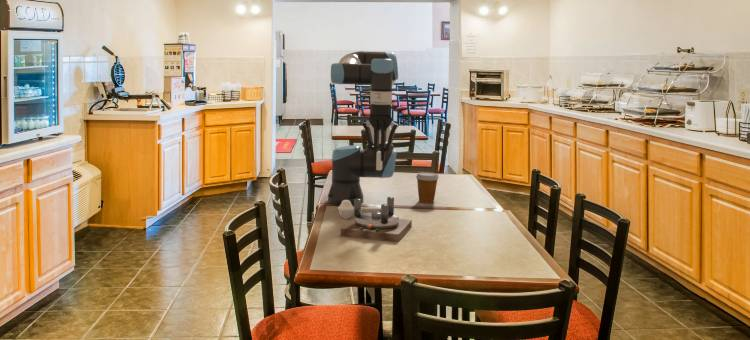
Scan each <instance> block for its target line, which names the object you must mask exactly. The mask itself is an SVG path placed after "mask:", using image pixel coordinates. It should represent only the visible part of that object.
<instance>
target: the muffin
mask: <svg viewBox="0 0 750 340" xmlns="http://www.w3.org/2000/svg"><path fill="white" fill-rule="evenodd" d="M337 210H338V213H339V215H340V217H341V218H342V219H344V220H345V219H347V220H348V219H351V217H352V215H354V205H352V204H351V202H350V201H349V200H343V201H342V203H341V205H339V206H338V207H337Z"/></svg>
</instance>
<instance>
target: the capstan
mask: <svg viewBox="0 0 750 340" xmlns="http://www.w3.org/2000/svg"><path fill="white" fill-rule="evenodd" d="M353 207H354V211H353V217H354V218H355V217H356V220H355V223H356V225H358V226H360V227H364V228H370V229H377V228H379V229H388V228H394V227H397V226H398V225H399V219H400V216H398V215H396V214H395V197H394V196H388V197H387V199H386V204H385V203H383V204H380V211H372V212H365V213H364V212H363V213H362V203H361V199H354V205H353Z"/></svg>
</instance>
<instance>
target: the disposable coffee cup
mask: <svg viewBox="0 0 750 340" xmlns="http://www.w3.org/2000/svg"><path fill="white" fill-rule="evenodd" d="M415 178H416V180H417V181H416V183H417V190H418V191H417V192H418V202H420V203H422V204H423V203H424V204H431V203H434V202H435V198H436V190H437V184H438V180H439V175H438V173H436V172H430V171H421V172H417V173H416V176H415Z"/></svg>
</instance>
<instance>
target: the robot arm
mask: <svg viewBox="0 0 750 340" xmlns="http://www.w3.org/2000/svg"><path fill="white" fill-rule="evenodd" d="M397 80H399V67H398V59H397V56H396V54H395V53H394V52H390V51H389V52H388V51H361V50H360V51H354V52H350V53H347V54H346V55H344V56H342V57H341V58H340V59H339V62H333V63H332V64H331V65H330V82H331V83H332V84H333V85H364V86H365V85H366V86H369V87H370V95H369V96H370V98H369V99H370V105H369V117H368V120H366V121H365V122H363V123H362V126H363V129H364V131H365V136H366V140H367V144H366V145H365V149H361V145H359V144H358V145H343V146H339V147H336V148H334V149H333V150H332V155H331V161H332V163H331V185H330V187H329V191H328V192H327V193H328V194H327V203H329V204H332V205H339V206H340V205H341V203H342V201H343V200H349V201H350V202H351V204H352V206H354V199H361V204H363V203H364V200H365V199H364V194H363V191H362V187H361V183H360V181H361V178H372V179H373V178H377V179H378V178H380V179H384V178H385V179H387V178H389V179H390V178H392V177H393V176H394V172H395V168H396V167H395V166H396V162H397V161H396V160H397V154H398V151H397V149H394V144H393V141H394V138H395V134H396V130H398V127H399V124H398V123H396V122H395V121H393V116H392V102H393V86H394V85H395V81H397Z"/></svg>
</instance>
